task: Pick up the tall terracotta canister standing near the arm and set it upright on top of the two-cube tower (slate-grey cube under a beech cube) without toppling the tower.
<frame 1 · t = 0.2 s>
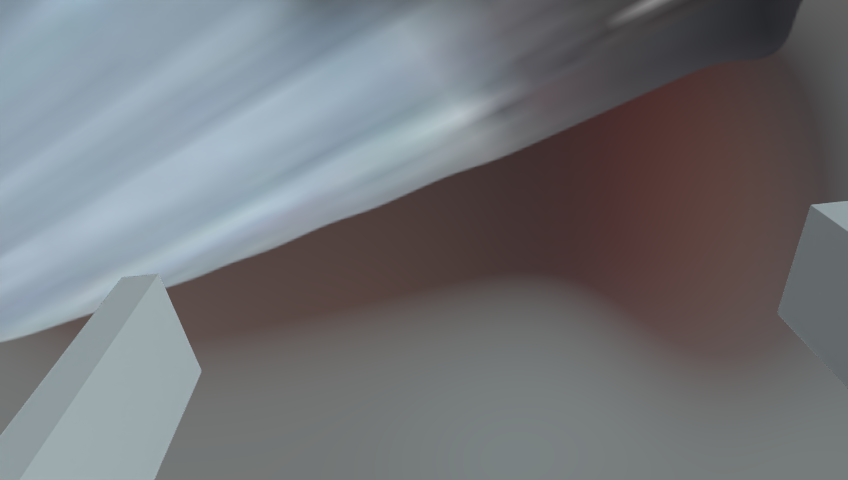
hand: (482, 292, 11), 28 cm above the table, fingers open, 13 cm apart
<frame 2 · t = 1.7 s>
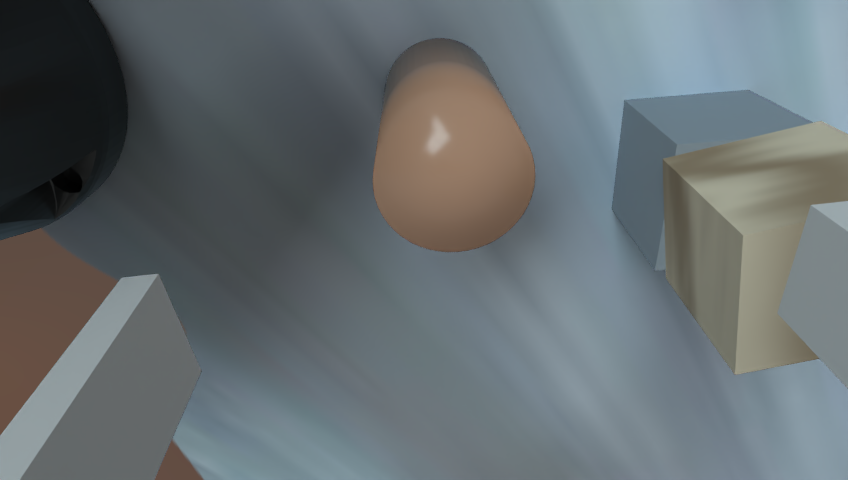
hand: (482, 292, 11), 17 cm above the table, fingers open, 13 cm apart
cube bottom: (676, 152, 28), on the table, touching cube top
canister: (438, 95, 26), on the table
cube top: (737, 206, 23), point 6 cm above the table, touching cube bottom
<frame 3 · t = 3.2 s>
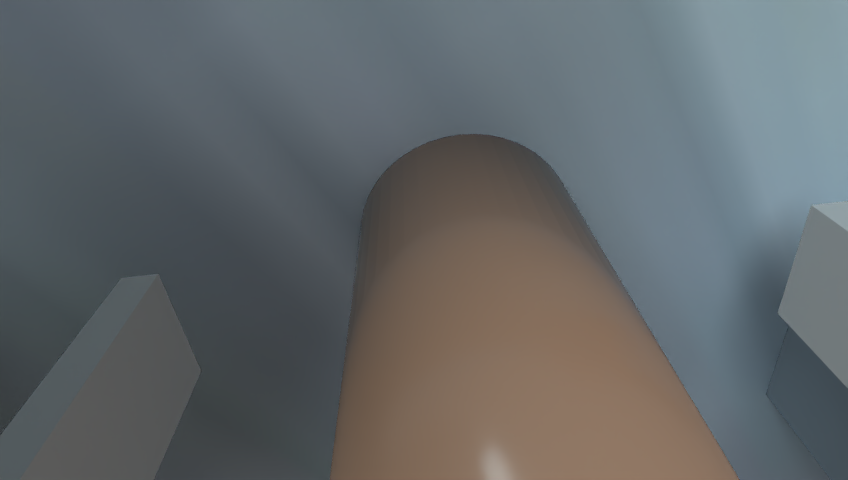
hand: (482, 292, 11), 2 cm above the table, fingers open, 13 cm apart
canister: (466, 234, 13), on the table
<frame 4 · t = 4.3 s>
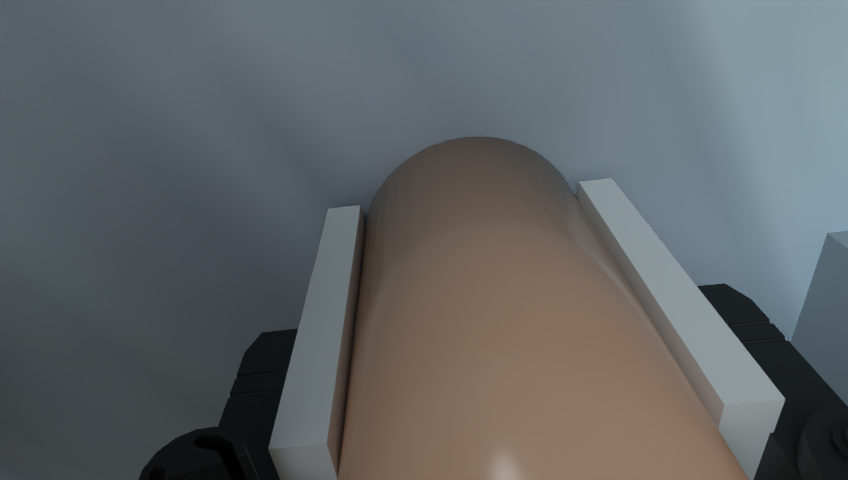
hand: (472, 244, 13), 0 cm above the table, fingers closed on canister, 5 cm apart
canister: (471, 237, 13), on the table, touching gripper
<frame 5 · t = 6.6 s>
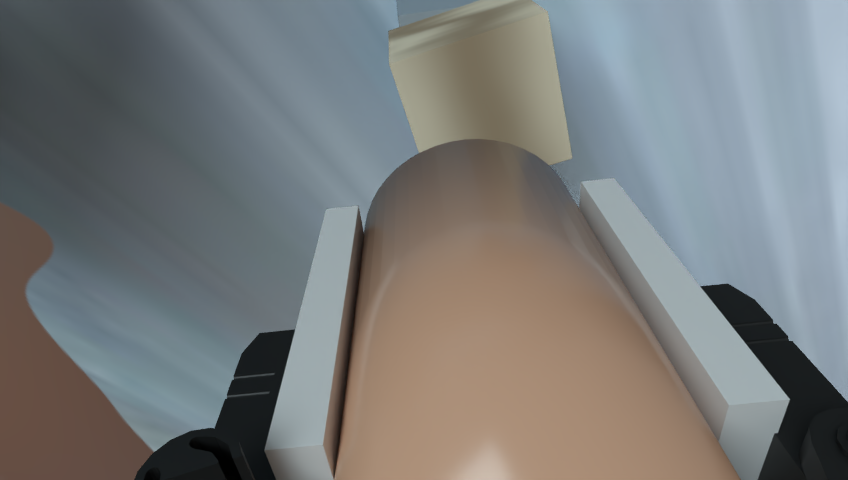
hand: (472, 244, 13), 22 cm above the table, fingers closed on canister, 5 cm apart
cube bottom: (454, 44, 31), on the table, touching cube top
canister: (470, 239, 13), point 21 cm above the table, touching gripper
cube top: (466, 72, 26), point 6 cm above the table, touching cube bottom
when the fingers open (14 cm above the table, at t = 9.0 s): canister drops 2 cm, resting on cube top.
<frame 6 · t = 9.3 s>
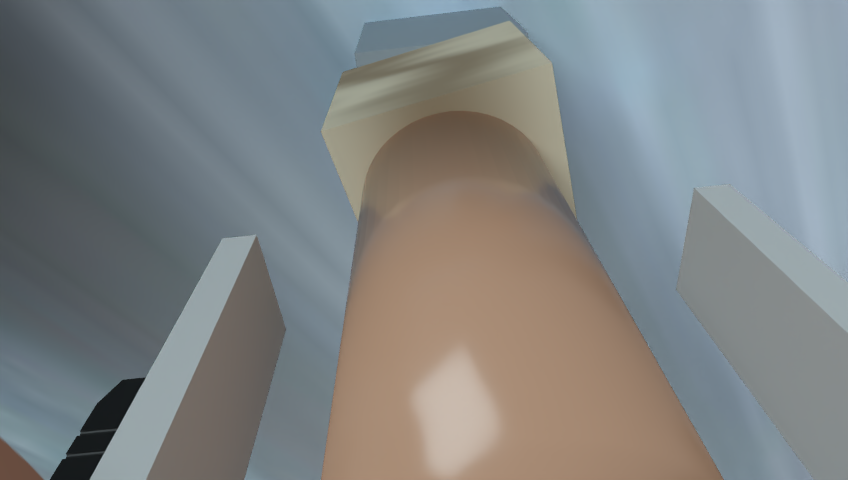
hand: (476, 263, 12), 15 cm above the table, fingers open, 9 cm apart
cube bottom: (438, 82, 25), on the table, touching cube top
canister: (456, 201, 15), point 12 cm above the table, touching cube top
cube top: (446, 126, 20), point 6 cm above the table, touching canister, cube bottom
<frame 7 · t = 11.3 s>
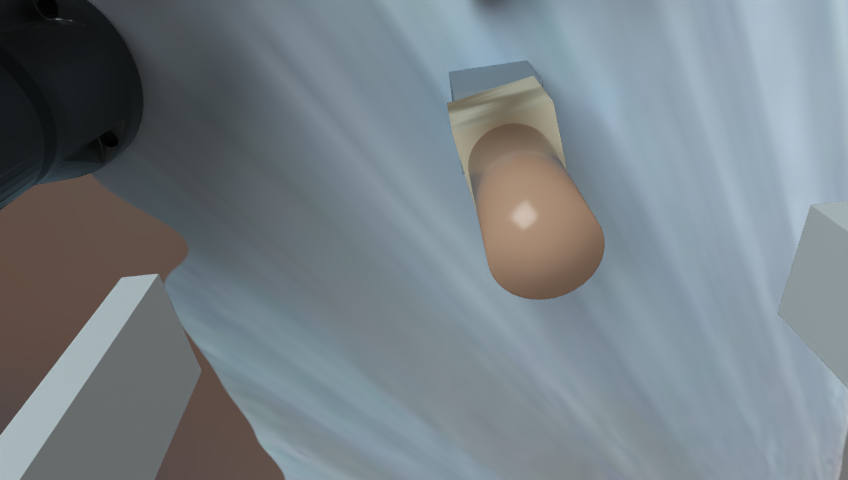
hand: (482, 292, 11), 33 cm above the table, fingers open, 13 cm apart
cube bottom: (490, 104, 43), on the table, touching cube top
canister: (510, 164, 33), point 12 cm above the table, touching cube top
cube top: (500, 130, 38), point 6 cm above the table, touching canister, cube bottom
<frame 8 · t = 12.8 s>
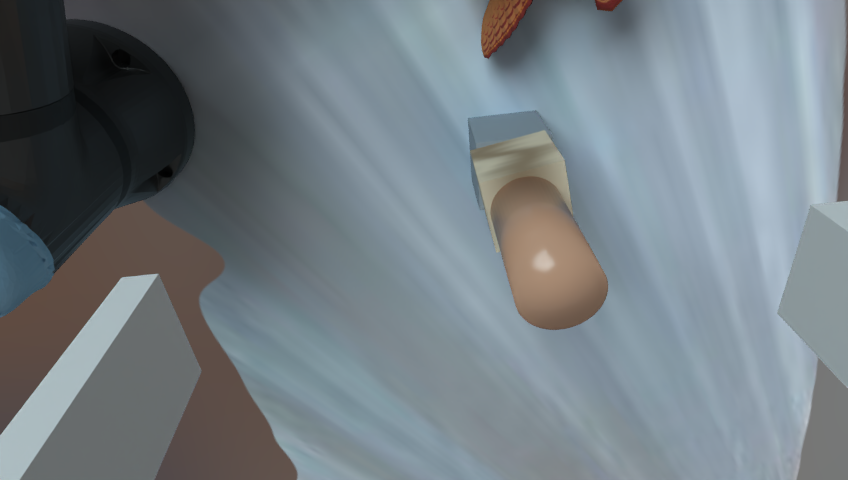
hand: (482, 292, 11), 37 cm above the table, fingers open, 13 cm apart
cube bottom: (502, 146, 49), on the table, touching cube top
canister: (526, 209, 39), point 12 cm above the table, touching cube top
cube top: (514, 174, 44), point 6 cm above the table, touching canister, cube bottom
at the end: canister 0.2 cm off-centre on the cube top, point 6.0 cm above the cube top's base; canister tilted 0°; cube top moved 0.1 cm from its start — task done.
